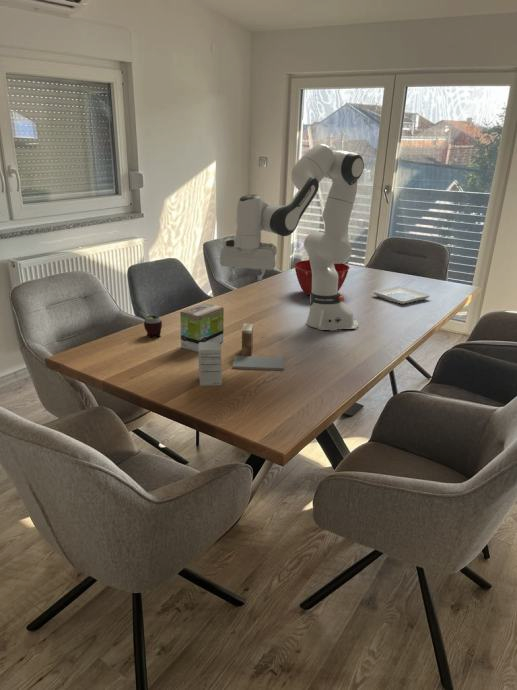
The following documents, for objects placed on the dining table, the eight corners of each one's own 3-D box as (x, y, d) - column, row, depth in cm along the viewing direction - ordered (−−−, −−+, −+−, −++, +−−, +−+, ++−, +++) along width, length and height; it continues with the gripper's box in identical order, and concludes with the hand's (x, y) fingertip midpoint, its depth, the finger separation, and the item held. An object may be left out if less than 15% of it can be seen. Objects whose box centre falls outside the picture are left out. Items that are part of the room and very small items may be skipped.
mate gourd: (141, 337, 214) (139, 301, 208) (152, 331, 220) (150, 296, 215) (157, 340, 211) (155, 304, 206) (167, 334, 218) (166, 298, 212)
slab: (252, 348, 204) (253, 323, 200) (251, 356, 197) (251, 330, 193) (243, 348, 204) (243, 323, 201) (241, 355, 197) (241, 330, 193)
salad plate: (430, 300, 269) (431, 294, 268) (402, 307, 258) (403, 300, 257) (398, 291, 286) (399, 285, 285) (370, 297, 275) (371, 290, 273)
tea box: (201, 353, 199) (200, 315, 193) (180, 348, 204) (178, 311, 198) (224, 341, 211) (224, 305, 205) (204, 336, 216) (203, 301, 210)
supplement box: (199, 376, 179) (198, 341, 174) (221, 376, 180) (221, 341, 175) (199, 386, 172) (198, 350, 168) (222, 385, 173) (221, 349, 168)
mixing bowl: (356, 292, 281) (358, 263, 276) (333, 305, 259) (335, 274, 253) (308, 284, 295) (309, 257, 290) (283, 296, 273) (283, 266, 267)
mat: (284, 359, 194) (284, 357, 194) (283, 370, 185) (283, 368, 184) (235, 357, 195) (235, 355, 195) (232, 368, 186) (232, 366, 185)
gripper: (278, 242, 191) (276, 280, 196) (223, 238, 194) (222, 275, 199) (275, 245, 185) (273, 284, 190) (218, 241, 188) (218, 279, 193)
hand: (247, 279), depth 194 cm, fingers open, 8 cm apart
